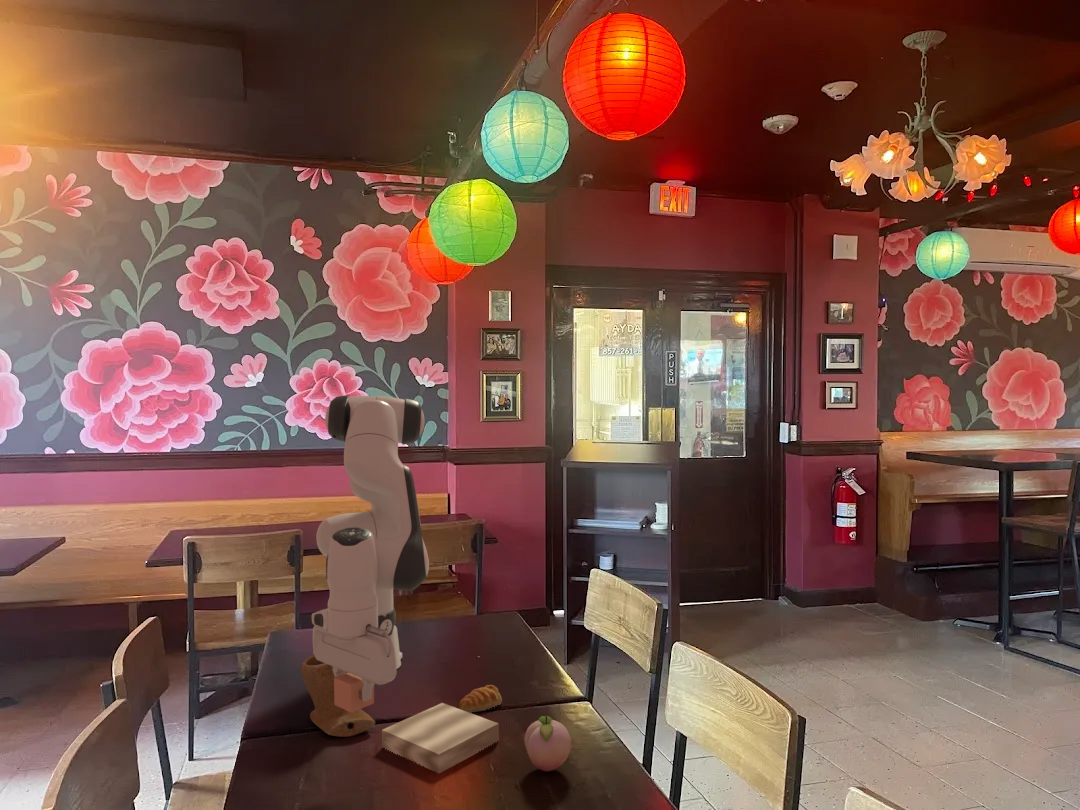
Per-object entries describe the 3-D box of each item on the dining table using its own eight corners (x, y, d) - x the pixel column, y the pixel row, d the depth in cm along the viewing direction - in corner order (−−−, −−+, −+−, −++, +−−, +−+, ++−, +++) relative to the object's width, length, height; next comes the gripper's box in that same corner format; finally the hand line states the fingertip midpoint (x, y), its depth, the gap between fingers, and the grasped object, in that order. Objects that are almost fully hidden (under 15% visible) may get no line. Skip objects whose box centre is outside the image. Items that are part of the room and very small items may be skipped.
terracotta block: (334, 704, 139) (333, 677, 139) (357, 695, 143) (356, 669, 143) (351, 712, 136) (351, 684, 136) (374, 703, 140) (373, 676, 140)
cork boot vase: (295, 721, 162) (293, 650, 161) (350, 707, 168) (348, 639, 168) (318, 748, 149) (317, 672, 149) (376, 732, 156) (375, 659, 155)
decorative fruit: (577, 780, 136) (576, 725, 136) (531, 786, 134) (531, 729, 134) (564, 755, 145) (563, 703, 145) (521, 760, 143) (521, 707, 143)
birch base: (382, 750, 149) (381, 729, 149) (442, 721, 162) (442, 702, 161) (439, 776, 139) (438, 754, 139) (498, 743, 151) (498, 723, 151)
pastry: (471, 718, 162) (470, 700, 162) (451, 709, 167) (451, 691, 167) (504, 705, 169) (504, 688, 169) (485, 696, 174) (484, 679, 174)
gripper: (404, 627, 135) (405, 704, 135) (334, 604, 148) (335, 675, 148) (375, 636, 130) (376, 717, 131) (305, 613, 143) (307, 686, 144)
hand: (354, 694), depth 140 cm, fingers closed on terracotta block, 5 cm apart
